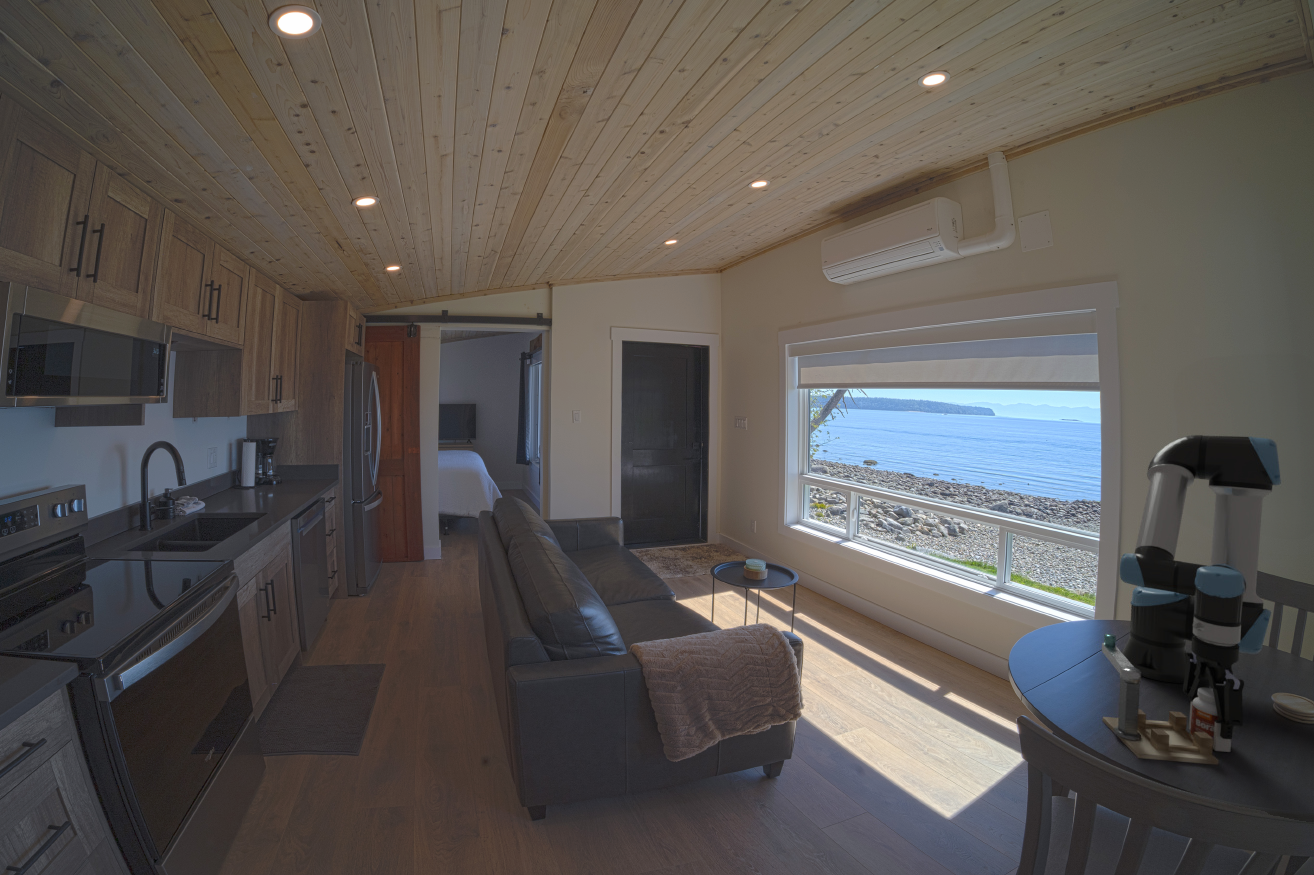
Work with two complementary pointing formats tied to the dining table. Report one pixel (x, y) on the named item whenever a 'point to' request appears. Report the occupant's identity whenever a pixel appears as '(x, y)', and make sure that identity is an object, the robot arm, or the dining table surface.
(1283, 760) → the dining table surface
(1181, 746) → the socket board
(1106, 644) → the keeper bar
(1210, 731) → the pill bottle
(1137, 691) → the post
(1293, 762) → the dining table surface
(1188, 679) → the robot arm
